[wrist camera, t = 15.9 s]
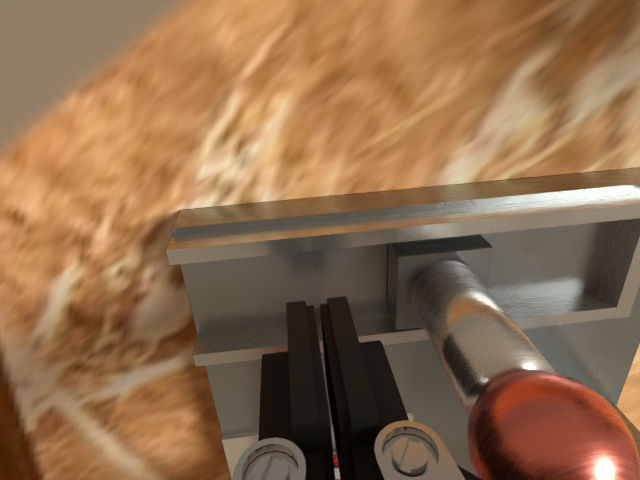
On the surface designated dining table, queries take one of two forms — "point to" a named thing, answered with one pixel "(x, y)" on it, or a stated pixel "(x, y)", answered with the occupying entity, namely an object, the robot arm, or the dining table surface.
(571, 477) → the lever
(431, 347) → the press
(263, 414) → the robot arm
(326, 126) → the dining table surface
